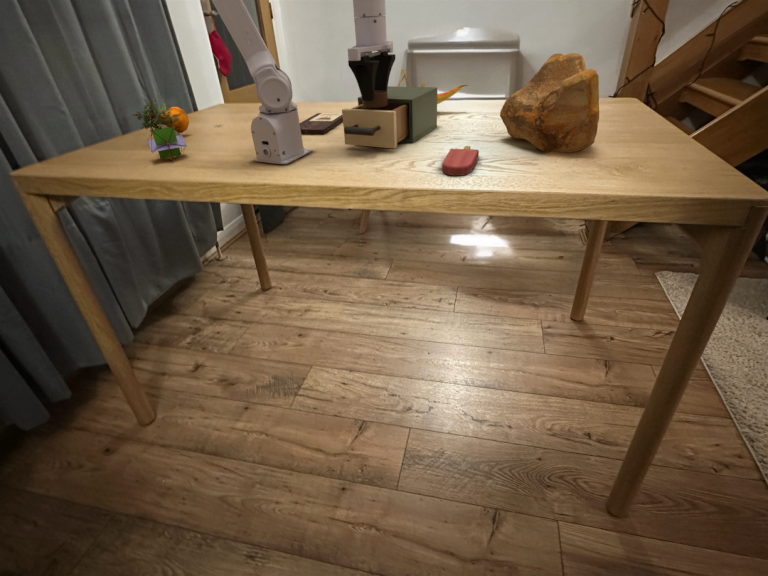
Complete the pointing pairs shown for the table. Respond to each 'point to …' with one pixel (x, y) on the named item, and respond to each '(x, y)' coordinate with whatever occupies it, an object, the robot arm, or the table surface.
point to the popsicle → (460, 161)
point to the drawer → (376, 125)
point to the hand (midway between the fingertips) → (374, 97)
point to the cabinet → (415, 108)
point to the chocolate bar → (320, 123)
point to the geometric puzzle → (166, 142)
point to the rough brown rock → (556, 106)
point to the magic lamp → (440, 97)
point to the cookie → (377, 100)
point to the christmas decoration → (164, 117)
